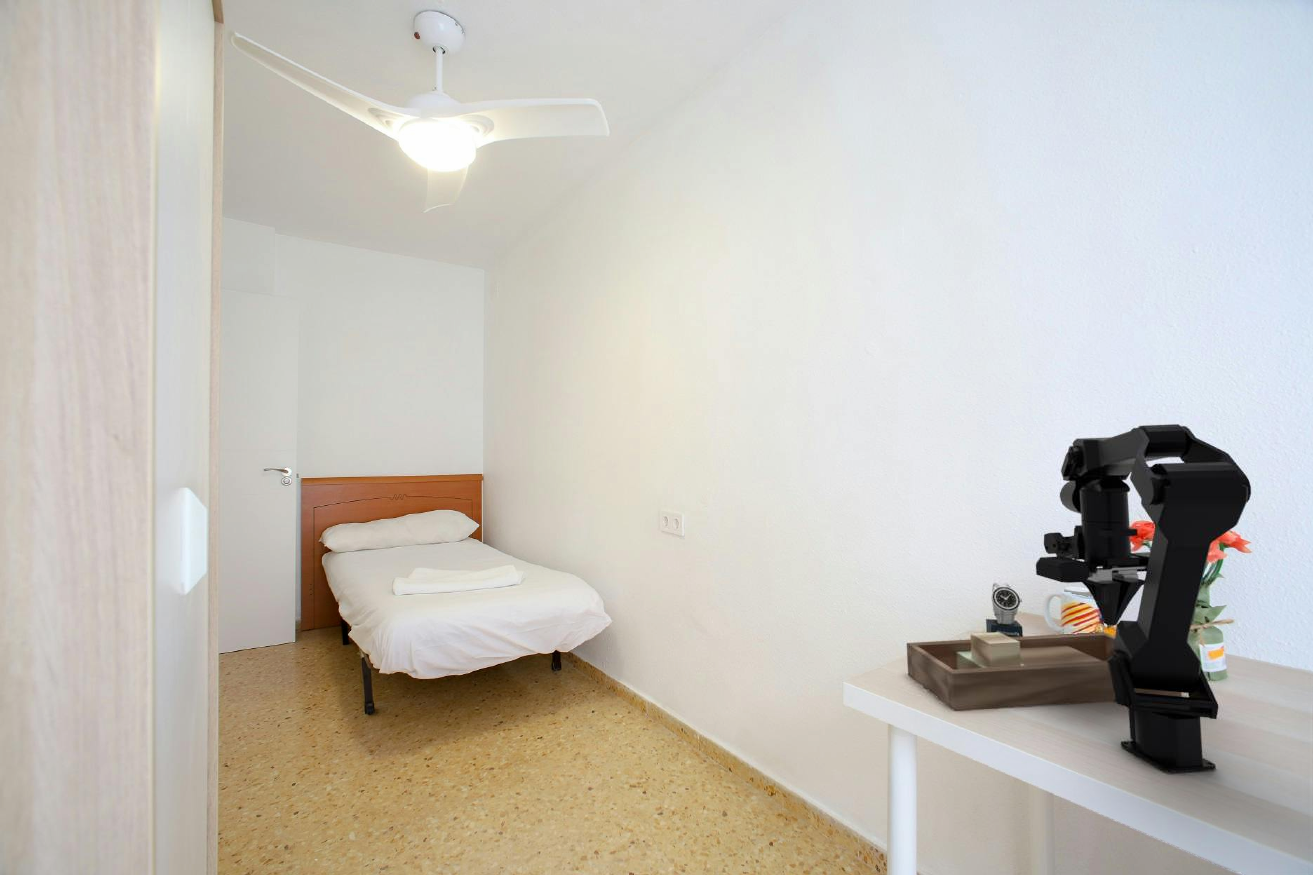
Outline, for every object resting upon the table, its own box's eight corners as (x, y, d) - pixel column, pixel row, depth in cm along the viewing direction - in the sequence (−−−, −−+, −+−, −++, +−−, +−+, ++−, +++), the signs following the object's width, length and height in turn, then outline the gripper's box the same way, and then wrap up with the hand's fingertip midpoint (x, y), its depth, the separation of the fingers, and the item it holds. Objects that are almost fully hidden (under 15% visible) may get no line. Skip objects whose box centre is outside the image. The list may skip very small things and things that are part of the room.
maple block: (1021, 667, 91) (1019, 641, 91) (990, 668, 90) (989, 643, 91) (1000, 656, 96) (999, 632, 96) (971, 657, 95) (970, 633, 96)
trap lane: (1181, 696, 87) (1179, 660, 87) (954, 710, 85) (952, 673, 85) (1104, 663, 101) (1103, 631, 101) (908, 674, 99) (906, 642, 99)
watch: (994, 643, 113) (991, 588, 113) (984, 631, 121) (982, 579, 121) (1026, 645, 111) (1023, 589, 111) (1015, 633, 119) (1012, 580, 119)
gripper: (1117, 512, 94) (1123, 607, 94) (1009, 517, 93) (1014, 612, 93) (1183, 520, 83) (1189, 627, 83) (1061, 525, 82) (1067, 634, 82)
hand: (1110, 624), depth 85 cm, fingers closed
